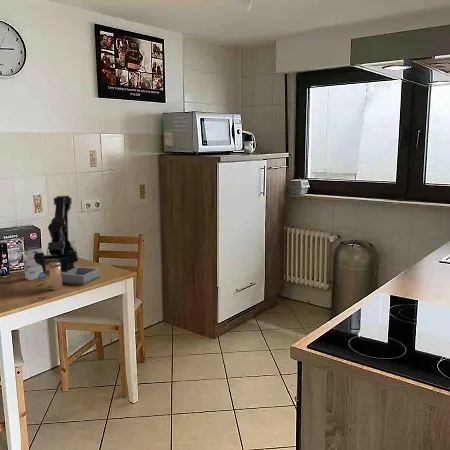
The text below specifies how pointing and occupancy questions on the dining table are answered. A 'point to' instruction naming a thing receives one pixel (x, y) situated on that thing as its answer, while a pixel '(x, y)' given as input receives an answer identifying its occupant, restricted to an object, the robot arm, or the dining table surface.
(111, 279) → the dining table surface
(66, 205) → the robot arm
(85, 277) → the box
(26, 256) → the ink box
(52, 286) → the jar
